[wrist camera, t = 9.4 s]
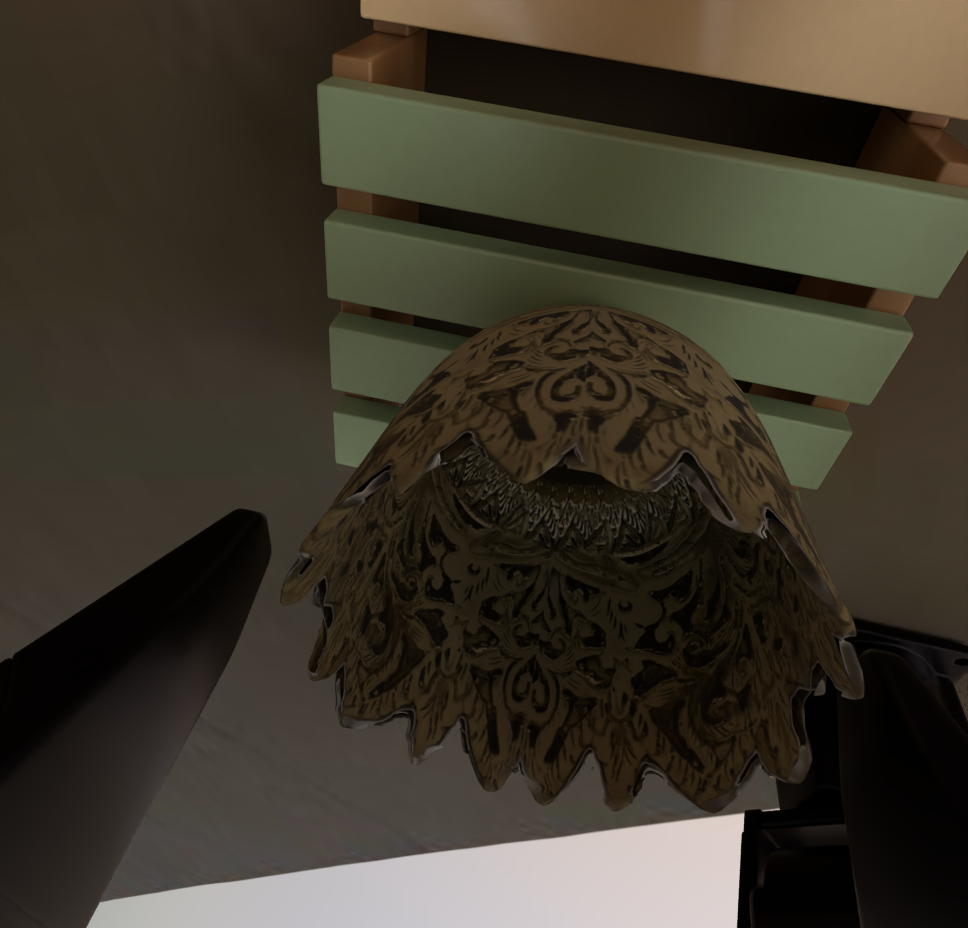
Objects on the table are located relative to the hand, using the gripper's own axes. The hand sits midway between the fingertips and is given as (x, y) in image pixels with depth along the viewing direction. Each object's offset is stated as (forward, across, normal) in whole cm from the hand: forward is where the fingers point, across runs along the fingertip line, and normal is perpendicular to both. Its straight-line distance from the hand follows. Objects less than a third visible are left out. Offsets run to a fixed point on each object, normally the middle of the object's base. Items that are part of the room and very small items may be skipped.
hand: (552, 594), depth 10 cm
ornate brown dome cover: (+7, 0, 0) cm, 7 cm away
